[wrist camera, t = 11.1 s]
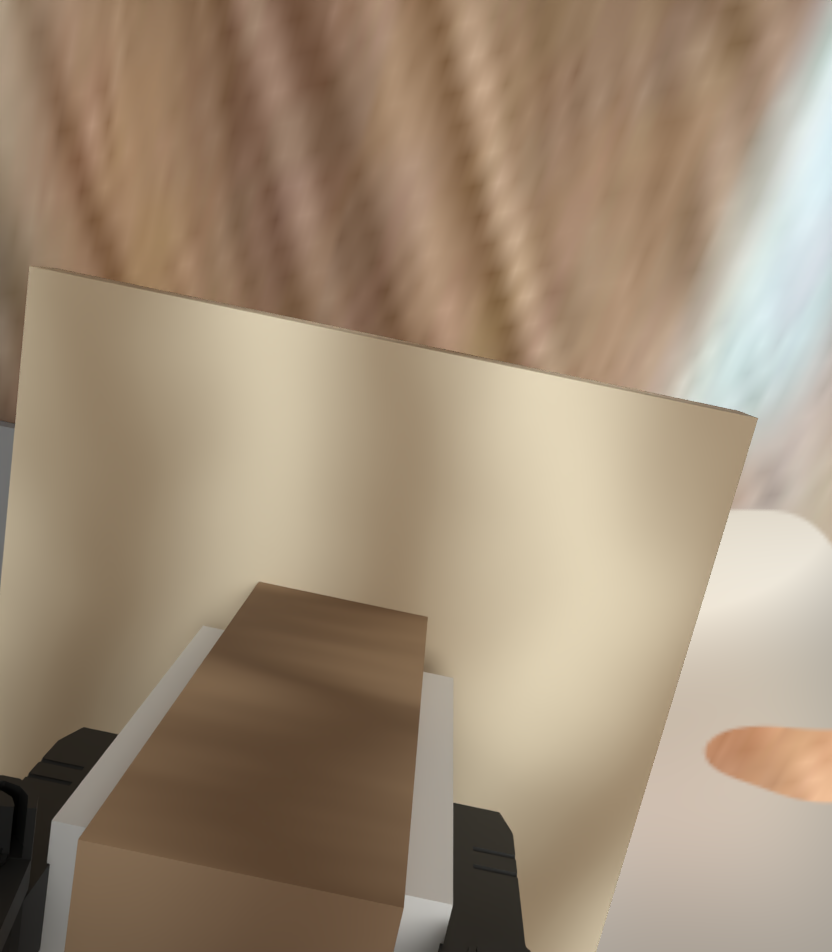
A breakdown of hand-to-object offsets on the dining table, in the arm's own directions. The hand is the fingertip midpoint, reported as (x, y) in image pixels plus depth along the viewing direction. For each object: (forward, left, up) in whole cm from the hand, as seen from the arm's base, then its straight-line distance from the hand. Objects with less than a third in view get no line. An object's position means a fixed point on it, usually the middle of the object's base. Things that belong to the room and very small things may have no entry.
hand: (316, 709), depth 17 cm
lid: (0, 0, -3) cm, 3 cm away
